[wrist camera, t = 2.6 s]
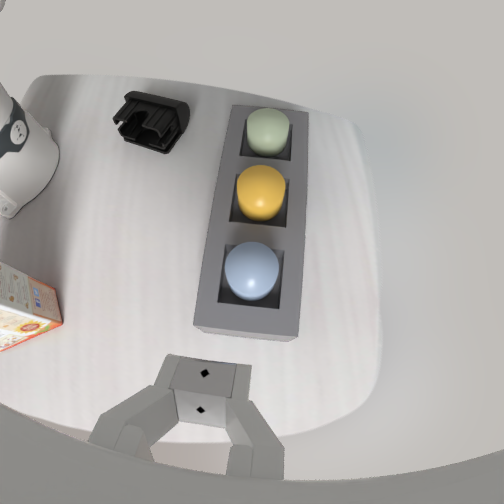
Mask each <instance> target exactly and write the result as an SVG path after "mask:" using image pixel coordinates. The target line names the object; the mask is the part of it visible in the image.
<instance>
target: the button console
mask: <svg viewBox="0 0 504 504" xmlns="http://www.w3.org/2000/svg"><path fill="white" fill-rule="evenodd" d="M263 108H266V107H254V106H241V105H232V109H231V114H230V119H229V123H228V128H227V133H226V138H225V142H224V147H223V152H222V157H221V162H220V167H219V172H218V178H217V183H216V188H215V193H214V199H213V204H212V210H211V215H210V221H209V227H208V232H207V238H206V244H205V250H204V256H203V262H202V268H201V275H200V281H199V288H198V294H197V301H196V308H195V315H194V322H193V325H194V326H195V327H197V328H198V329H200V330H201V331H203V332H204V333H212V334H219V335H227V336H236V337H244V338H253V339H263V340H273V341H284V342H289V341H291V340H293V339H295V338H297V337H298V331H299V319H300V307H301V293H302V279H303V264H304V246H305V227H306V204H307V174H308V112H302V111H294V110H285V109H276V108H272V109H276V110H278V111H281V112H282V113H284V114H285V115H286V116H287V118H288V120H289V131H288V137H287V143H286V147H285V149H284V150H283V151H282V152H281V153H280V154H278V155H276V156H272V157H264V156H260V155H257V154H255V153H254V152H252V151H251V150H250V148H249V147H248V144H247V119H248V117H249V115H250V114H251V113H253V112H254V111H256V110H258V109H263ZM256 165H266V166H270V167H272V168H274V169H276V170H277V171H278V172H280V174H281V175H282V176H283V178H284V181H285V193H284V198H283V203H282V207H281V210H280V212H279V213H278V214H277V215H276V216H275V217H274V218H272V219H270V220H267V221H254V220H251V219H249V218H247V217H246V216H245V215H243V213H242V212H241V211H240V209H239V206H238V194H237V181H238V178H239V176H240V175H241V173H242V172H243V171H244V170H246V169H247V168H249V167H252V166H256ZM245 242H258V243H262V244H264V245H266V246H267V247H269V248H270V249H271V250H272V251H273V252H274V253H275V255H276V257H277V259H278V263H279V272H278V276H277V279H276V282H275V285H274V287H273V289H272V291H271V292H270V293H269V294H268V295H267V296H266V297H264V298H262V299H260V300H256V301H247V300H243V299H241V298H239V297H237V296H236V295H235V294H234V293H233V292H232V291H231V289H230V287H229V285H228V281H227V277H226V273H225V262H226V259H227V256H228V255H229V253H230V252H231V251H232V250H233V249H234V248H235V247H236V246H238V245H240V244H242V243H245Z"/></svg>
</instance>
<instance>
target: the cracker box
mask: <svg viewBox="0 0 504 504" xmlns="http://www.w3.org/2000/svg"><path fill="white" fill-rule="evenodd" d="M62 324H63V323H62V319H61V314H60V310H59V306H58V301H57V296H56V291H55V288H53V287H50V286H48V285H46V284H44V283H42V282H40V281H38V280H36V279H34V278H32V277H30V276H28V275H26V274H24V273H22V272H20V271H18V270H16V269H14V268H13V267H11V266H9V265H7V264H5V263H3V262H1V261H0V352H1V351H4V350H6V349H8V348H11V347H13V346H15V345H17V344H20V343H22V342H24V341H26V340H29V339H31V338H33V337H36V336H38V335H40V334H42V333H45V332H47V331H49V330H51V329H54V328H56V327H58V326H61V325H62Z"/></svg>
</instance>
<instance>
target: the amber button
mask: <svg viewBox="0 0 504 504" xmlns="http://www.w3.org/2000/svg"><path fill="white" fill-rule="evenodd" d="M284 193H285V181H284V178H283V176H282V175H281V174H280V172H278V171H277V170H276V169H274V168H272V167H270V166H266V165H256V166H252V167H249V168H247V169H246V170H244V171H243V172H242V173H241V175H240V176H239V178H238V181H237V194H238V206H239V209H240V211H241V212H242V213H243V215H245V216H246V217H247V218H249V219H251V220H254V221H267V220H270V219H272V218H274V217H275V216H276V215H277V214H278V213H279V212H280V210H281V207H282V203H283V198H284Z"/></svg>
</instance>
